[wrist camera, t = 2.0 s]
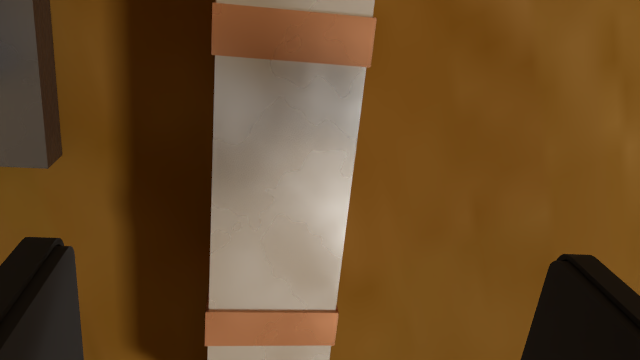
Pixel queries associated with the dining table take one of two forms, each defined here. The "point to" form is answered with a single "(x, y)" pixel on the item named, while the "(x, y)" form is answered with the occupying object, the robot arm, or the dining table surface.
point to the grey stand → (28, 86)
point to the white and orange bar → (282, 171)
